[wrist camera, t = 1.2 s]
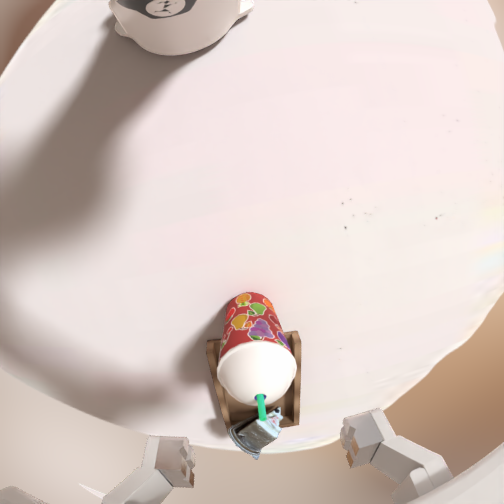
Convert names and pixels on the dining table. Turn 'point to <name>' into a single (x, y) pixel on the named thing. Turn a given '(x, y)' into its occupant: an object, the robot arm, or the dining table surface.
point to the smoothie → (254, 353)
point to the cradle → (240, 411)
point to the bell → (256, 432)
